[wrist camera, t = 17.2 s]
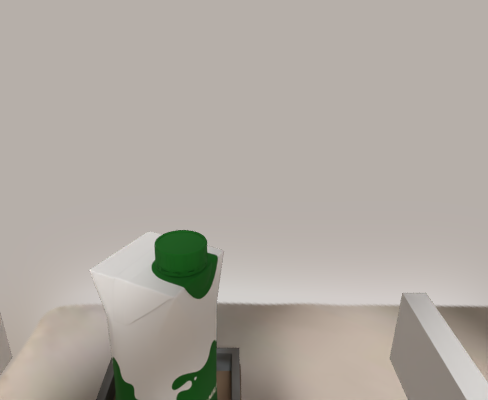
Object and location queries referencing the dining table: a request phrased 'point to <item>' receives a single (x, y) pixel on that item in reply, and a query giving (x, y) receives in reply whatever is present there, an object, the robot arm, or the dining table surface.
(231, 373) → the dark gray tray
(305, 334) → the dining table surface
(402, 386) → the robot arm
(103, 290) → the soya milk
